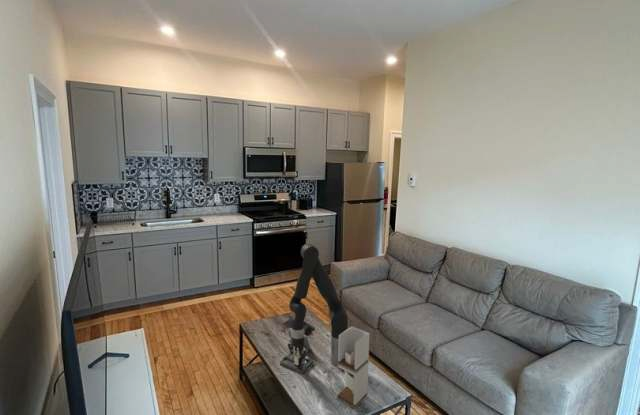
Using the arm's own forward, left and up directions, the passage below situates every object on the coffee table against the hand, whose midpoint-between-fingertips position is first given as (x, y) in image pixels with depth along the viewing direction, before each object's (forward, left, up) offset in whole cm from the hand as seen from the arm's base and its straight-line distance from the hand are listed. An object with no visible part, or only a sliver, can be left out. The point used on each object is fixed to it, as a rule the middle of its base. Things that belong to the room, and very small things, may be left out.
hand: (297, 361), depth 195 cm
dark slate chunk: (+25, -36, -4) cm, 44 cm away
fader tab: (0, 0, -1) cm, 1 cm away
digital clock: (+11, -17, -3) cm, 21 cm away
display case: (-38, +5, -3) cm, 38 cm away
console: (+2, -2, -3) cm, 4 cm away
